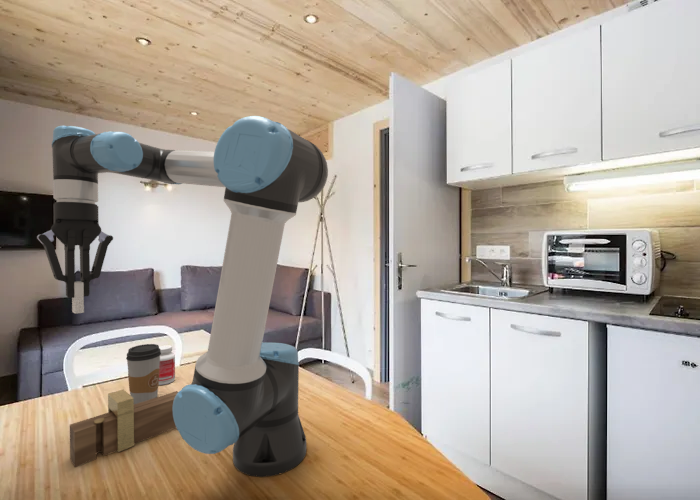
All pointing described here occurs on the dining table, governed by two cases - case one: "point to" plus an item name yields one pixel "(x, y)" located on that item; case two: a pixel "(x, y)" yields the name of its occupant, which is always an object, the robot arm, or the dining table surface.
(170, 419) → the tong arm
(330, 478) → the dining table surface
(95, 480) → the dining table surface
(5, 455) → the dining table surface
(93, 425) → the base
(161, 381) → the pill bottle
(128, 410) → the lock collar
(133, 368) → the coffee cup
